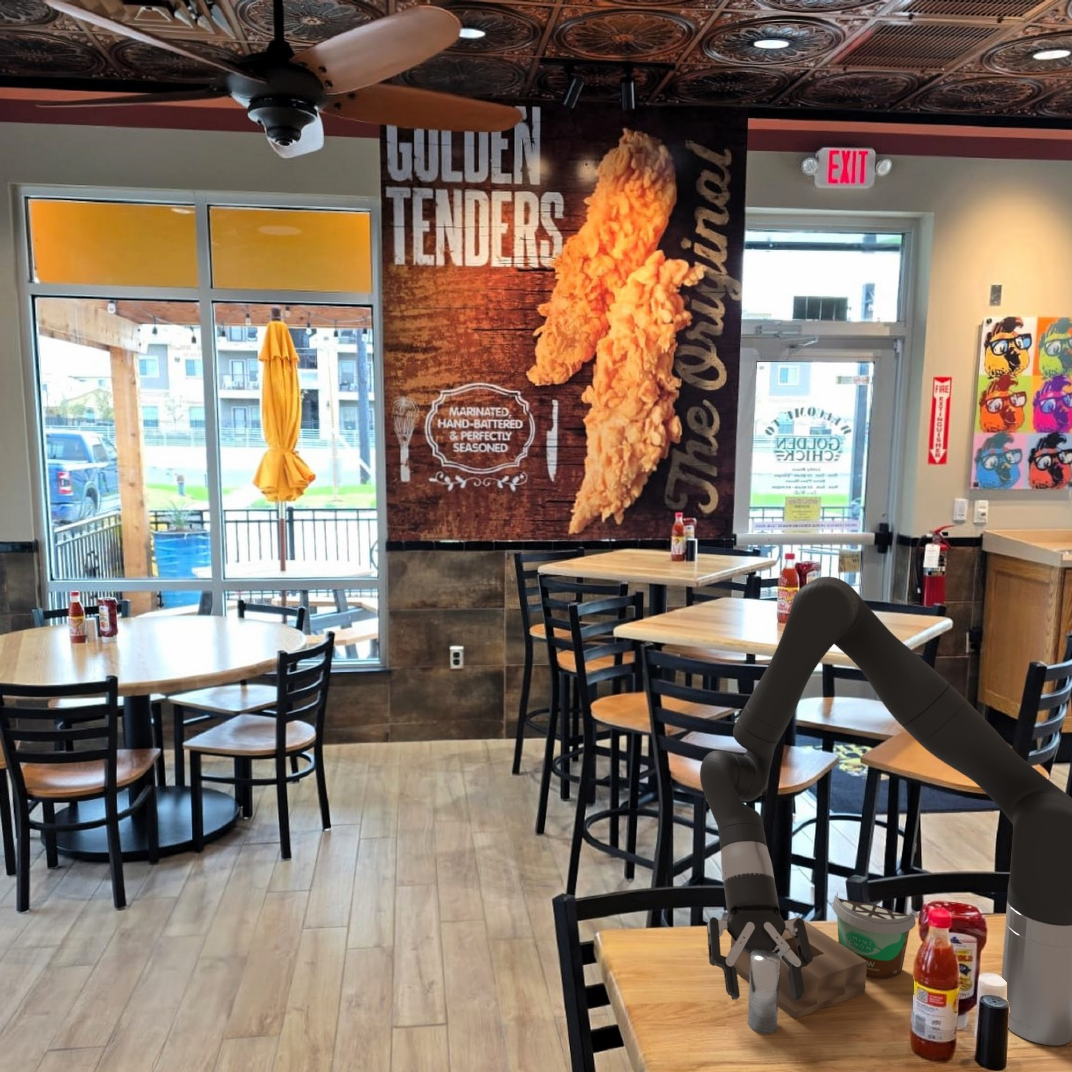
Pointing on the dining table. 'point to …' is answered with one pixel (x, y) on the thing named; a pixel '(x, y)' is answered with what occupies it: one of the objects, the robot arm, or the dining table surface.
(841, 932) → the food container
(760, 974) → the steel pin
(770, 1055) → the dining table surface
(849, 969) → the socket block
